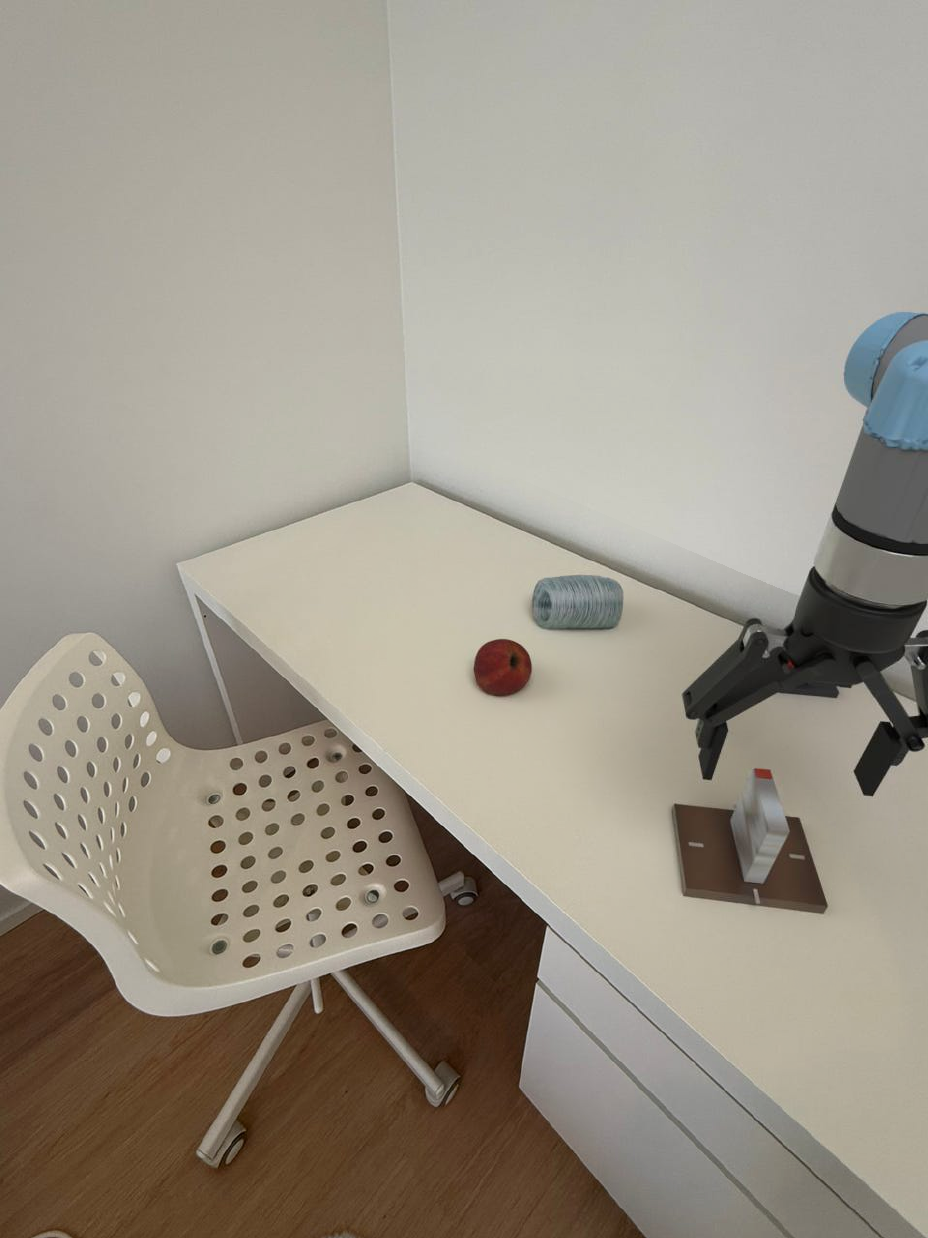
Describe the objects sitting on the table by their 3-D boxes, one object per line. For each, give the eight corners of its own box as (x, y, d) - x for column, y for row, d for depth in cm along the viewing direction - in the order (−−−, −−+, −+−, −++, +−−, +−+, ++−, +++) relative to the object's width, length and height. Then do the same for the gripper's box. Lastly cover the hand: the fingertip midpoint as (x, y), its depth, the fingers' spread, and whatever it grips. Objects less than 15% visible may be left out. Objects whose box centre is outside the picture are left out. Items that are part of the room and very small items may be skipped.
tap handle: (763, 884, 62) (791, 830, 57) (744, 882, 63) (769, 827, 57) (747, 822, 68) (771, 768, 63) (729, 820, 68) (752, 766, 63)
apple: (492, 716, 84) (494, 670, 79) (462, 681, 89) (462, 635, 84) (539, 695, 87) (543, 650, 82) (507, 663, 92) (509, 618, 87)
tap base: (790, 826, 71) (798, 811, 69) (821, 926, 62) (831, 912, 60) (668, 812, 72) (673, 797, 70) (681, 908, 63) (687, 893, 62)
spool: (527, 629, 93) (547, 562, 91) (521, 617, 102) (539, 556, 100) (618, 654, 94) (639, 588, 92) (603, 640, 103) (622, 580, 101)
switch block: (816, 665, 92) (825, 643, 89) (833, 704, 85) (844, 682, 83) (743, 658, 93) (750, 637, 90) (755, 697, 87) (763, 675, 84)
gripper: (1033, 562, 47) (914, 757, 60) (679, 542, 50) (638, 732, 63) (1099, 626, 41) (950, 826, 54) (693, 598, 44) (644, 795, 57)
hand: (782, 776), depth 58 cm, fingers open, 13 cm apart
